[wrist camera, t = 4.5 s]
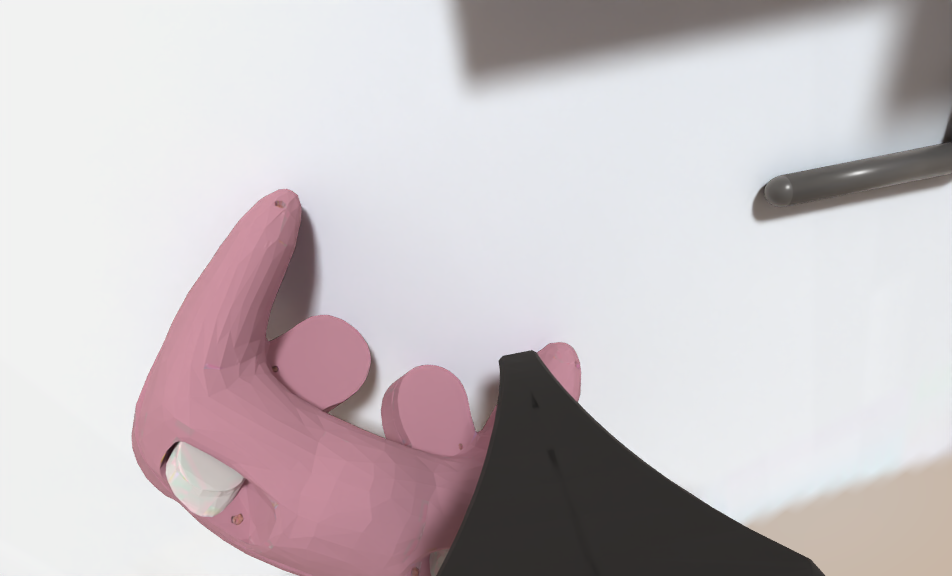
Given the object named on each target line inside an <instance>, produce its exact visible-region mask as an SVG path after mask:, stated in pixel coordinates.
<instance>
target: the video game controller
mask: <svg viewBox="0 0 952 576" xmlns="http://www.w3.org/2000/svg"><path fill="white" fill-rule="evenodd" d="M300 223H301V204H300V201H299V198H298V195H297V194H296V193H294V192H293V191H291V190H288V189H280V190H277V191H275V192H273V193H271V194H269V195H267V196H265V197H263V198H262V199H261V200H259V201H258V202H257V203H256V204H255V205H254V206H253V207H252V208H251V209H250V210H249V211H248V212H247V213H246V214H245V215H244V216H243V217H242V218H241V219H240V220H239V221H238V223H237V224H236V225H235V227H234V228H233V230H232V231H231V232H230V234H229V235H228V237H227V238H226V239H225V241H224V242H223V243H222V245H221V246H220V247H219V249H218V250H217V252H216V253H215V255H214V257H213V258H212V260H211V261H210V262H209V264H208V265H207V267H206V268H205V270H204V271H203V272H202V274H201V275H200V277H199V278H198V280H197V281H196V282H195V284H194V285H193V287H192V288H191V290H190V291H189V292H188V294H187V296H186V298H185V300H184V302H183V303H182V305H181V307H180V309H179V311H178V313H177V314H176V316H175V318H174V320H173V322H172V324H171V327H170V329H169V331H168V334H167V336H166V339H165V341H164V343H163V345H162V347H161V349H160V351H159V353H158V355H157V357H156V360H155V362H154V364H153V366H152V368H151V370H150V372H149V374H148V376H147V379H146V381H145V384H144V386H143V389H142V391H141V394H140V396H139V399H138V401H137V404H136V408H135V415H134V422H133V429H132V448H133V451H134V454H135V457H136V460H137V463H138V465H139V466H140V468H141V470H142V471H143V473H144V475H145V476H146V478H147V479H148V480H149V481H150V482H151V483H152V484H153V485H154V486H155V487H156V488H157V489H158V490H159V491H161V492H162V493H163V494H164V495H166V496H167V497H170V498H172V499H174V500H175V501H177V502H178V503H180V504H181V505H182V506H183V507H184V508H185V509H186V510H187V511H188V512H189V513H190V514H191V515H192V516H193V517H194V518H195V519H196V520H197V521H198V522H200V523H201V524H202V525H203V526H205V527H206V528H207V529H209V530H210V531H211V532H213V533H214V534H216V535H217V536H218V537H220V538H221V539H222V540H224V541H226V542H227V543H229V544H231V545H232V546H234V547H236V548H237V549H239V550H241V551H242V552H244V553H246V554H247V555H250V556H252V557H254V558H257V559H259V560H261V561H263V562H266V563H268V564H270V565H273V566H275V567H277V568H279V569H282V570H284V571H287V572H290V573H293V574H296V575H299V576H436V575H437V573H438V571H439V569H440V567H441V565H442V563H443V561H444V559H445V557H446V555H447V553H448V551H449V549H450V547H451V545H452V543H453V541H454V539H455V537H456V535H457V533H458V530H459V528H460V526H461V524H462V521H463V519H464V516H465V514H466V511H467V509H468V506H469V504H470V501H471V499H472V496H473V494H474V491H475V488H476V485H477V482H478V480H479V477H480V474H481V471H482V467H483V464H484V461H485V458H486V454H487V450H488V446H489V442H490V438H491V434H492V430H493V426H494V421H495V415H496V409H497V405H496V406H495V408H494V410H493V412H492V413H491V415H490V417H489V419H488V420H487V422H486V424H485V426H484V428H483V429H482V430H481V431H479V432H476V431H475V427H474V424H473V421H472V417H471V413H470V408H469V403H468V398H467V394H466V392H465V389H464V387H463V385H462V383H461V382H460V380H459V379H458V378H457V377H456V376H455V375H454V374H452V373H451V372H450V371H448V370H446V369H444V368H442V367H439V366H435V365H421V366H418V367H415V368H413V369H412V370H410V371H409V372H407V373H406V374H405V375H403V376H402V377H401V378H399V379H398V380H397V381H395V382H394V383H393V384H392V385H391V386H390V387H389V388H388V389H387V391H386V393H385V395H384V397H383V400H382V407H381V416H382V425H383V429H384V433H385V436H386V439H385V438H383V437H380V436H378V435H375V434H373V433H370V432H368V431H365V430H363V429H361V428H359V427H356V426H354V425H352V424H350V423H348V422H345V421H343V420H341V419H339V418H337V417H334V416H332V415H330V414H328V413H327V412H329V411H331V410H332V409H333V408H335V407H336V406H338V405H339V404H341V403H342V402H344V401H346V400H347V399H348V398H349V397H351V396H352V395H353V394H354V393H356V392H357V391H358V390H359V388H360V387H361V385H362V384H363V383H364V381H365V380H366V378H367V376H368V373H369V370H370V364H371V357H370V351H369V348H368V345H367V343H366V342H365V340H364V338H363V337H362V336H361V334H360V333H359V332H358V331H357V330H356V329H355V328H354V327H352V326H351V325H350V324H348V323H347V322H345V321H344V320H342V319H339V318H336V317H333V316H330V315H318V316H312V317H310V318H308V319H306V320H304V321H302V322H301V323H299V324H297V325H296V326H295V327H293V328H292V329H290V330H289V331H288V332H286V333H285V334H283V335H281V336H279V337H277V338H275V339H273V340H271V341H268V340H267V339H266V337H265V336H266V330H267V325H268V320H269V316H270V312H271V308H272V305H273V303H274V300H275V298H276V295H277V293H278V290H279V288H280V285H281V283H282V280H283V277H284V275H285V272H286V270H287V267H288V265H289V262H290V260H291V257H292V255H293V252H294V250H295V246H296V241H297V237H298V232H299V228H300ZM537 353H538V355H539V357H540V358H541V360H542V361H543V363H544V364H545V365H546V367H547V368H548V369H549V371H550V372H551V373H552V374H553V376H554V377H555V378H556V379H557V380H558V382H559V383H560V384H561V385H562V386H563V387H564V388H565V390H566V391H567V392H568V393H569V394H570V395H571V396H572V397H573V398H574V399H575V400H576V401H577V402H578V400H579V396H580V387H581V368H580V362H579V359H578V356H577V354H576V352H575V350H574V348H572V347H571V346H570V345H568V344H566V343H561V342H558V343H550V344H548V345H547V346H546V347H545V348H543V349H542V350H540V351H539V352H537Z"/></svg>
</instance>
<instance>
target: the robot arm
mask: <svg viewBox="0 0 952 576" xmlns="http://www.w3.org/2000/svg"><path fill="white" fill-rule="evenodd" d="M499 366H500V386H499V397H498V403H497V409H496V415H495V421H494V426H493V430H492V434H491V438H490V442H489V446H488V450H487V454H486V458H485V461H484V464H483V467H482V471H481V474H480V477H479V480H478V482H477V485H476V488H475V491H474V494H473V496H472V499H471V501H470V504H469V506H468V509H467V511H466V514H465V516H464V519H463V521H462V524H461V526H460V528H459V530H458V533H457V535H456V537H455V539H454V541H453V543H452V545H451V547H450V549H449V551H448V553H447V555H446V557H445V559H444V561H443V563H442V565H441V567H440V569H439V571H438V573H437V575H436V576H825V575H824V574H823V573H822V572H821V570H820V569H819V568H818V567H817V566H816V565H815V564H814V563H813V561H812V560H811V559H809V558H807V557H805V556H803V555H801V554H799V553H797V552H795V551H793V550H791V549H789V548H787V547H785V546H783V545H781V544H779V543H777V542H775V541H773V540H771V539H769V538H767V537H765V536H763V535H761V534H759V533H757V532H755V531H753V530H751V529H749V528H747V527H745V526H744V525H742V524H740V523H738V522H737V521H735V520H733V519H731V518H730V517H728V516H726V515H725V514H723V513H721V512H719V511H718V510H716V509H714V508H712V507H711V506H709V505H708V504H706V503H705V502H703V501H702V500H700V499H698V498H697V497H695V496H694V495H692V494H691V493H689V492H688V491H686V490H685V489H683V488H681V487H680V486H678V485H677V484H675V483H674V482H672V481H671V480H669V479H668V478H666V477H665V476H663V475H662V474H661V473H659V472H658V471H656V470H655V469H654V468H652V467H651V466H650V465H648V464H647V463H646V462H644V461H643V460H642V459H640V458H639V457H638V456H637V455H635V454H634V453H633V452H631V451H630V450H629V449H628V448H626V447H625V446H624V445H623V444H622V443H620V442H619V441H618V440H617V439H616V438H615V437H613V436H612V435H611V434H610V433H609V432H608V431H607V430H606V429H604V428H603V427H602V426H601V425H600V424H599V423H598V422H597V421H596V420H595V419H594V418H593V417H592V416H591V415H589V414H588V413H587V412H586V411H585V410H584V409H583V408H582V406H581V405H580V404H579V403H578V402H577V401H576V400H575V399H574V398H573V397H572V396H571V395H570V394H569V393H568V392H567V391H566V390H565V388H564V387H563V386H562V385H561V384H560V383H559V382H558V380H557V379H556V378H555V377H554V376H553V374H552V373H551V372H550V371H549V369H548V368H547V367H546V365H545V364H544V363H543V361H542V360H541V358H540V357H539V355H538V353H536V352H534V351H533V350H531V351H526V352H521V353H516V354H510V355H505V356H502V358H501V359H500V360H499Z"/></svg>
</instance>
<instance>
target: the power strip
mask: <svg viewBox="0 0 952 576" xmlns="http://www.w3.org/2000/svg"><path fill="white" fill-rule="evenodd" d="M947 174H952V142H948V143H943V144H938V145H933V146H928V147H923V148H918V149H913V150H908V151H903V152H897V153H892V154H887V155H882V156H877V157H872V158H867V159H862V160H857V161H852V162H847V163H842V164H837V165H831V166H826V167H821V168H816V169H811V170H806V171H801V172H796V173H791V174H786V175H781V176H777V177H775V178H773V179H772V180H770V181H769V182H768V184H767V185H766V187H765V190H764V195H765V198H766V200H767V201H768V202H769V203H770V204H771V205H774V206H777V207H785V206H790V205H795V204H800V203H805V202H810V201H815V200H820V199H826V198H831V197H836V196H841V195H846V194H851V193H856V192H861V191H866V190H871V189H876V188H881V187H886V186H891V185H896V184H902V183H907V182H912V181H917V180H922V179H927V178H932V177H937V176H942V175H947Z"/></svg>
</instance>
